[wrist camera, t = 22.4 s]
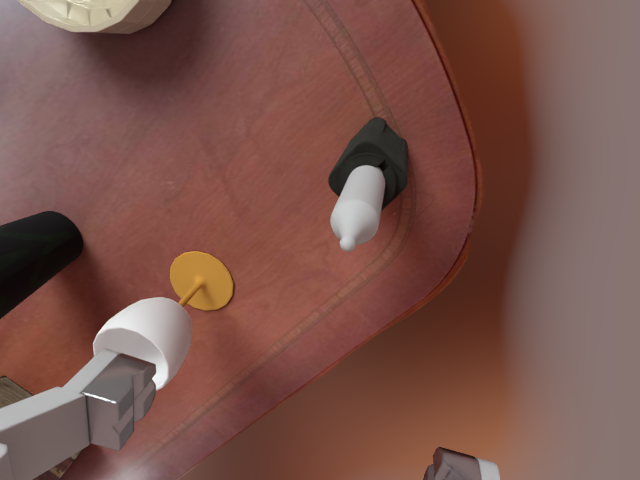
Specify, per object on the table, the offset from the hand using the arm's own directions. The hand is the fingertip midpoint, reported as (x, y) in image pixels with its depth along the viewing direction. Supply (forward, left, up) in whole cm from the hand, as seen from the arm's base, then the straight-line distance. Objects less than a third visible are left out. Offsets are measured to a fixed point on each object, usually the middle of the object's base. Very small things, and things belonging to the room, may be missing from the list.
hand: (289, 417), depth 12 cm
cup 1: (+45, 0, -37) cm, 58 cm away
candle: (0, 0, -37) cm, 37 cm away
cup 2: (+27, +11, -37) cm, 47 cm away
